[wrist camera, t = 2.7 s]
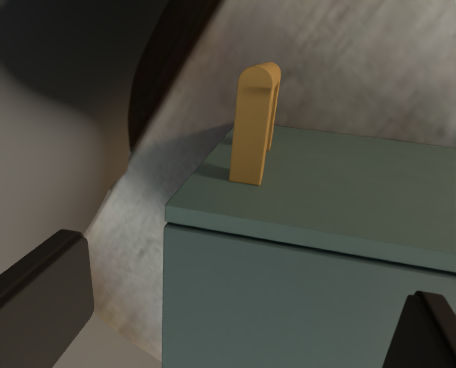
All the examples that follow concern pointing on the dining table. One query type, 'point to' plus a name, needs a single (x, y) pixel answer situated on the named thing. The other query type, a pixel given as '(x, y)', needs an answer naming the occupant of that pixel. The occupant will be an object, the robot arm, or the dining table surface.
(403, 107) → the dining table surface
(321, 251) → the cabinet
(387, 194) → the cabinet door
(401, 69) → the dining table surface
